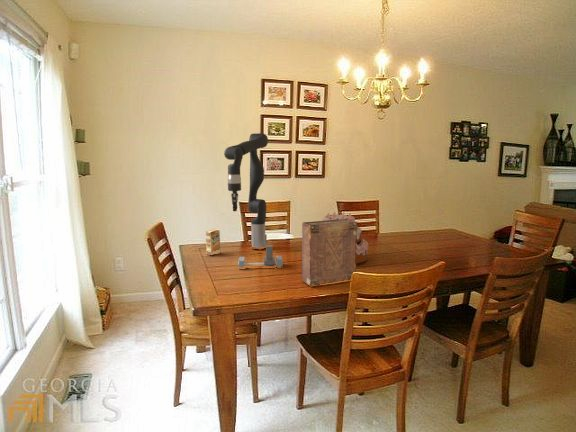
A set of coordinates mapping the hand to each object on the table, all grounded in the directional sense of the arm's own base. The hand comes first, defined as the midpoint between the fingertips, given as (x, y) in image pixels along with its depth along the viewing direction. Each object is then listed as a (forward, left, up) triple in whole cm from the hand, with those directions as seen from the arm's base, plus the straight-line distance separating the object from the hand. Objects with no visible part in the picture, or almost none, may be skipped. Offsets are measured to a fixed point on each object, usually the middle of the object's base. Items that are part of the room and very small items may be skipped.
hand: (235, 210), depth 216 cm
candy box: (+6, -19, -30) cm, 36 cm away
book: (-19, +61, -30) cm, 71 cm away
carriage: (-8, +24, -29) cm, 38 cm away
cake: (-51, +34, -30) cm, 68 cm away
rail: (-4, +21, -30) cm, 37 cm away
